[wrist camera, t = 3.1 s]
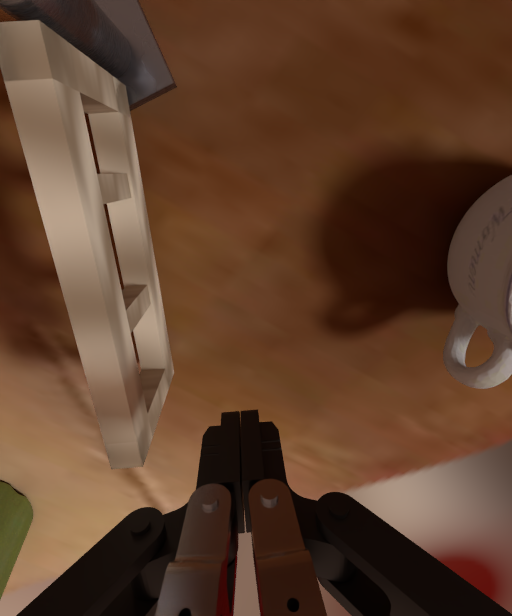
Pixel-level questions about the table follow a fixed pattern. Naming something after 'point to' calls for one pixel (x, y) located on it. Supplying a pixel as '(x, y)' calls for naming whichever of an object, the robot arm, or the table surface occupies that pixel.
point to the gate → (93, 227)
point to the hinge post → (106, 40)
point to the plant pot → (12, 529)
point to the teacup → (482, 287)
